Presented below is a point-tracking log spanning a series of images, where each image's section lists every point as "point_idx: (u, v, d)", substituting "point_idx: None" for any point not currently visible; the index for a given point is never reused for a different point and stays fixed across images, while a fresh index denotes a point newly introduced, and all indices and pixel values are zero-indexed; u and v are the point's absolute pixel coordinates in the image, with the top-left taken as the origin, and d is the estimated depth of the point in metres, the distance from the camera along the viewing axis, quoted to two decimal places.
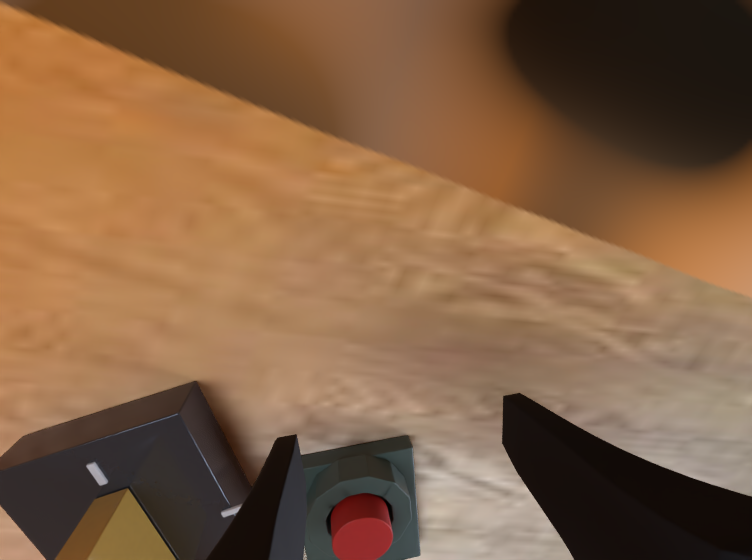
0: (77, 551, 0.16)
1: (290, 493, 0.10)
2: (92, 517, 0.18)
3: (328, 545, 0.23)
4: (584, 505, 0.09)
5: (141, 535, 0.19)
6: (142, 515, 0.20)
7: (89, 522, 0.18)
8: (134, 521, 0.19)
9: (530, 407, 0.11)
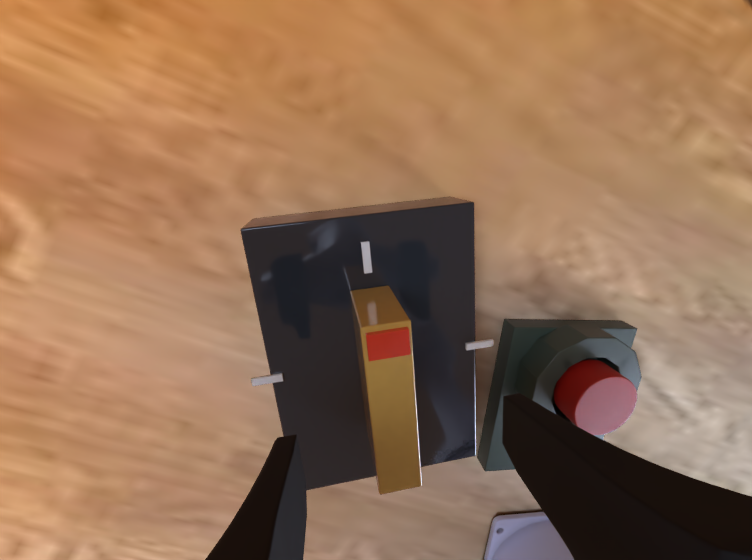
0: (385, 313, 0.13)
1: (290, 493, 0.10)
2: (368, 298, 0.15)
3: None
4: (584, 505, 0.09)
5: None
6: None
7: (370, 300, 0.15)
8: None
9: (530, 407, 0.11)
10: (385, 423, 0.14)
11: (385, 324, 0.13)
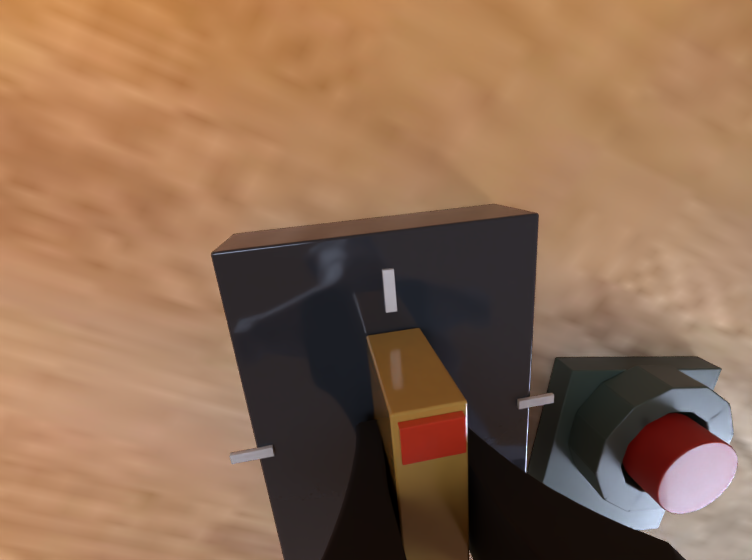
0: (424, 384, 0.09)
1: None
2: (395, 351, 0.11)
3: (613, 484, 0.16)
4: (484, 528, 0.09)
5: None
6: None
7: (397, 355, 0.10)
8: None
9: None
10: (421, 544, 0.09)
11: (428, 408, 0.08)
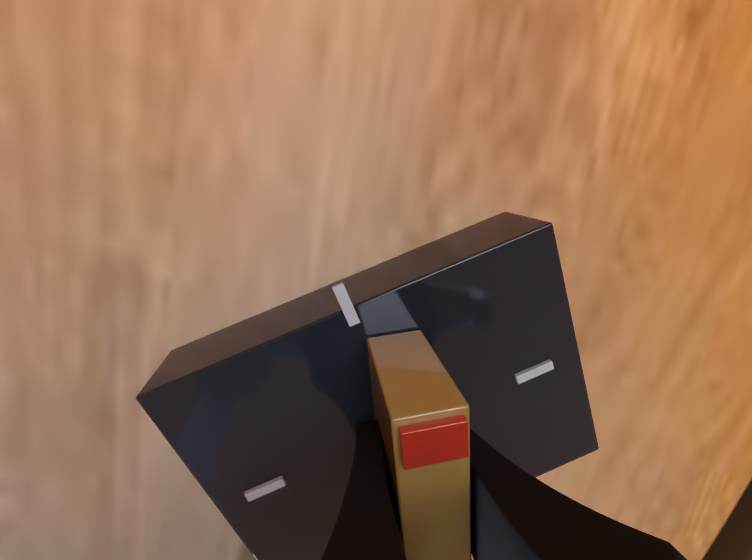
0: (427, 388, 0.09)
1: None
2: (395, 354, 0.10)
3: None
4: (485, 528, 0.09)
5: None
6: None
7: (398, 358, 0.10)
8: None
9: None
10: (423, 549, 0.09)
11: (430, 412, 0.08)
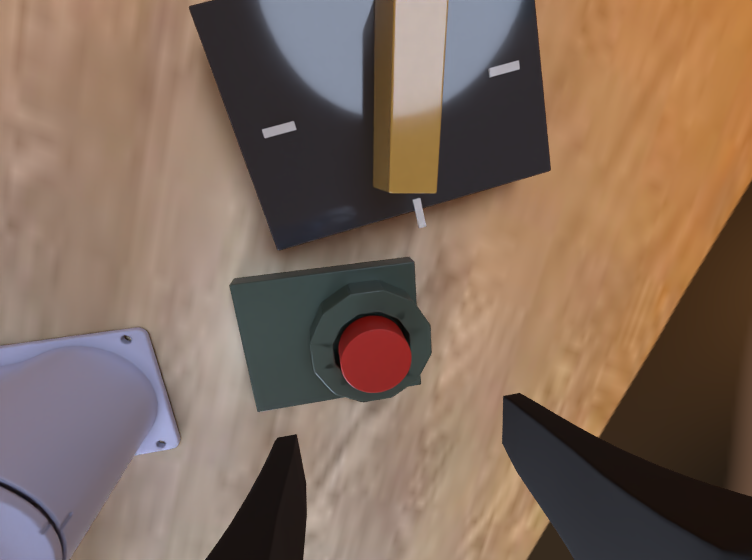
0: None
1: (290, 493, 0.10)
2: None
3: (339, 315, 0.19)
4: (584, 505, 0.09)
5: None
6: None
7: None
8: None
9: (530, 407, 0.11)
10: (407, 88, 0.12)
11: None
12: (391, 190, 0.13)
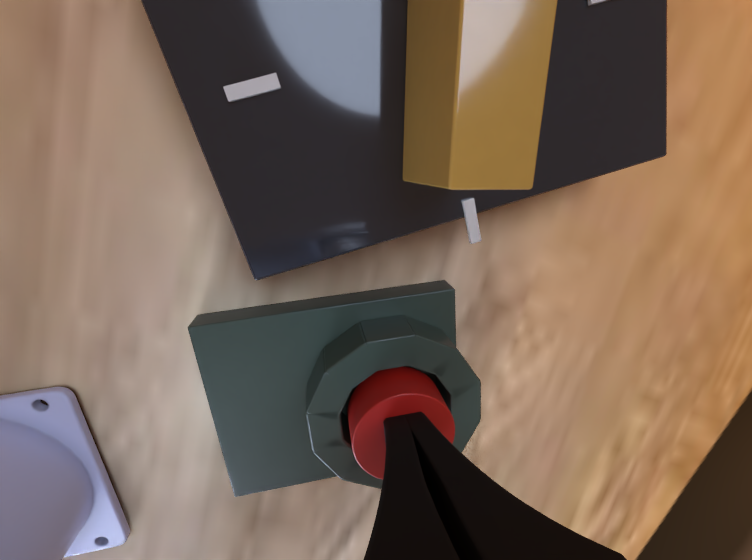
0: None
1: None
2: None
3: (350, 373, 0.13)
4: (450, 536, 0.09)
5: None
6: None
7: None
8: None
9: (421, 428, 0.11)
10: None
11: None
12: (453, 184, 0.07)
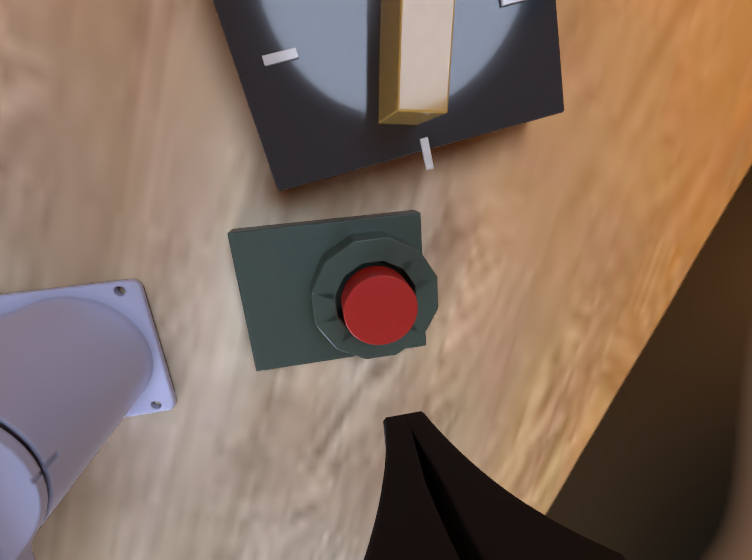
0: None
1: None
2: None
3: (342, 264, 0.18)
4: (450, 536, 0.09)
5: None
6: None
7: None
8: None
9: (422, 428, 0.11)
10: None
11: None
12: (399, 107, 0.12)
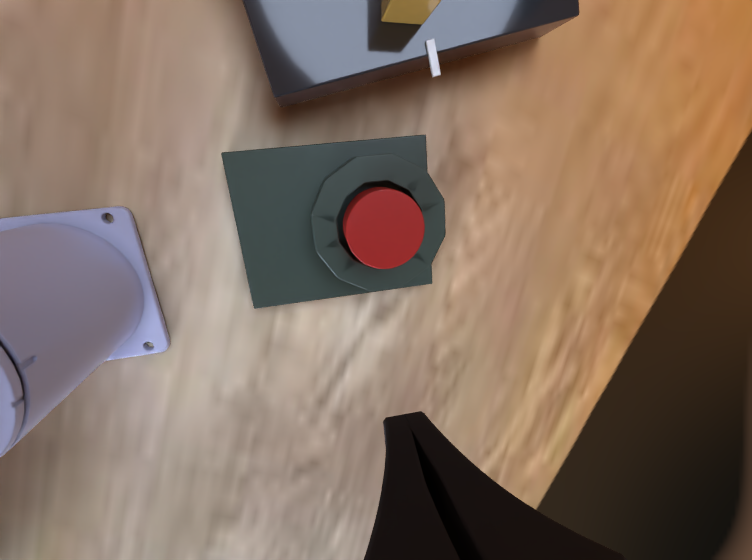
0: None
1: None
2: None
3: (344, 182, 0.17)
4: (450, 536, 0.09)
5: None
6: None
7: None
8: None
9: (421, 428, 0.11)
10: None
11: None
12: None
